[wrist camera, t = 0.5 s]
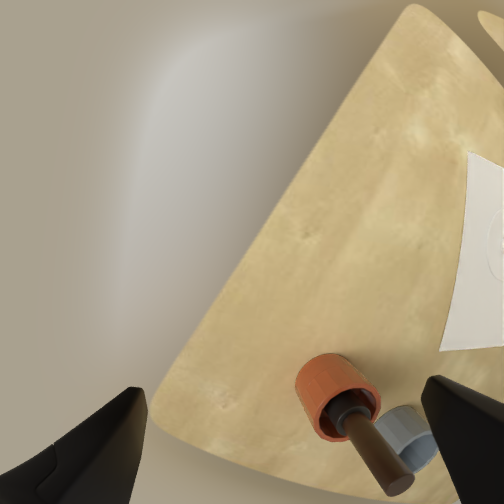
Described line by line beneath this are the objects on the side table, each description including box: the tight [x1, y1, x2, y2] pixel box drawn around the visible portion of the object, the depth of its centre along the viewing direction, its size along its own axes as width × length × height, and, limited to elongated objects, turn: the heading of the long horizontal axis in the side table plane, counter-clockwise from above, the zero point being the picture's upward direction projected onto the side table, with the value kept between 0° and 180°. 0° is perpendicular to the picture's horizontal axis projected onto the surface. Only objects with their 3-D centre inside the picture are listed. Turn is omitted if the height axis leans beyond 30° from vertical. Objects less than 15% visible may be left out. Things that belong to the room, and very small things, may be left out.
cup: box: [374, 406, 439, 474], centre depth 25 cm, size 6×6×5 cm
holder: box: [295, 354, 381, 442], centre depth 23 cm, size 5×5×6 cm
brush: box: [323, 389, 415, 497], centre depth 17 cm, size 3×3×11 cm
